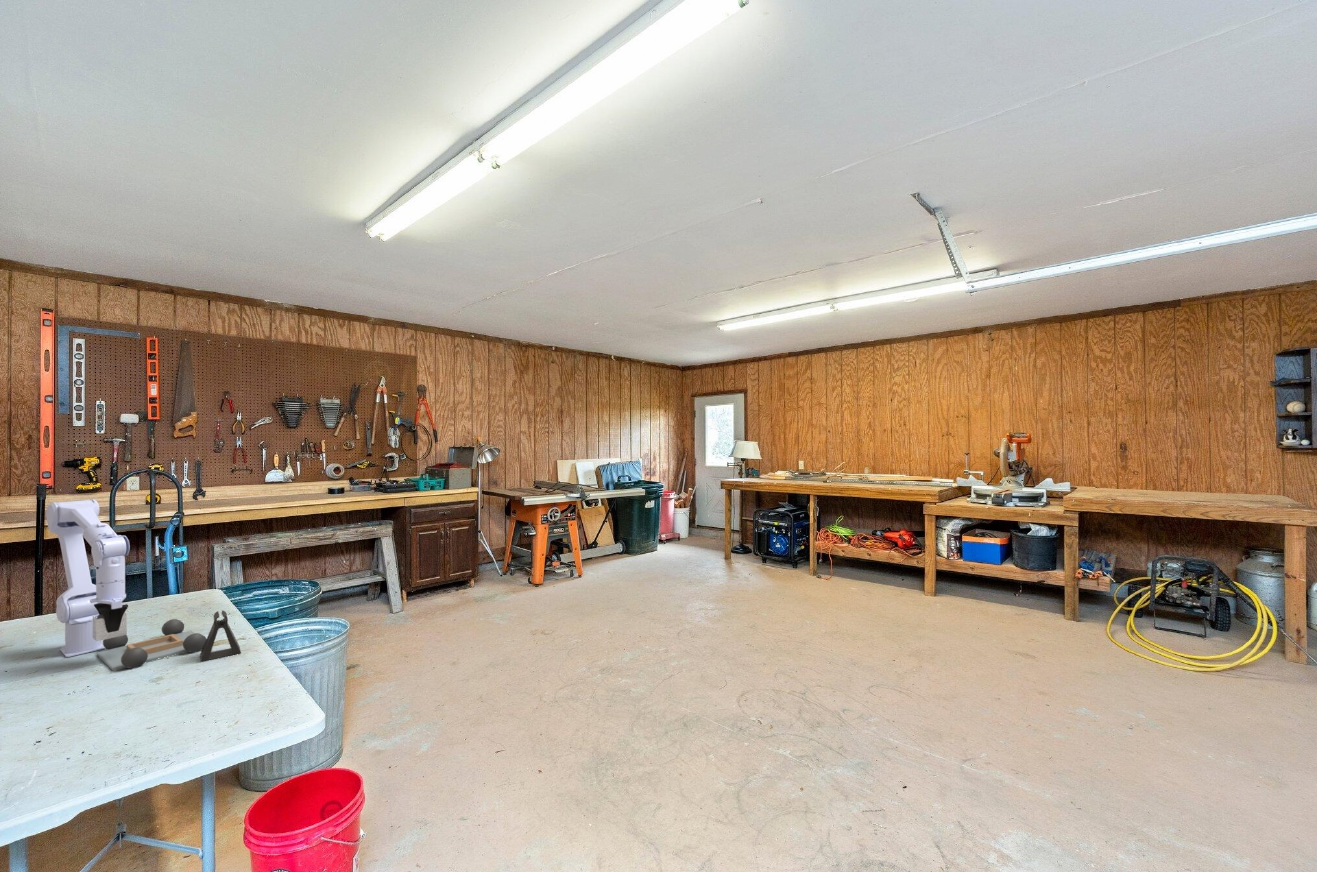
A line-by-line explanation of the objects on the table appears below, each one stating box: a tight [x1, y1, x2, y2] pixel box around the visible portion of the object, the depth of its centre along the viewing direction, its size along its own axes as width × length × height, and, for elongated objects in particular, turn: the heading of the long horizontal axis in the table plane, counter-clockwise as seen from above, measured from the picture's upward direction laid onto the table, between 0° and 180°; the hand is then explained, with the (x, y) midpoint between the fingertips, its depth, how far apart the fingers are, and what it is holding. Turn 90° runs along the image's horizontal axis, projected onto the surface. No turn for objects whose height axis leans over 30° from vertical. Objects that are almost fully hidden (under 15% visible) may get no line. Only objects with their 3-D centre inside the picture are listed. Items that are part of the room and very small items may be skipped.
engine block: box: [93, 612, 128, 642], centre depth 152 cm, size 4×6×6 cm
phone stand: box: [199, 610, 242, 663], centre depth 157 cm, size 9×6×12 cm, turn 130°
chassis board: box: [96, 618, 207, 672], centre depth 160 cm, size 22×21×5 cm
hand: (111, 629), depth 152 cm, fingers closed on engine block, 4 cm apart
